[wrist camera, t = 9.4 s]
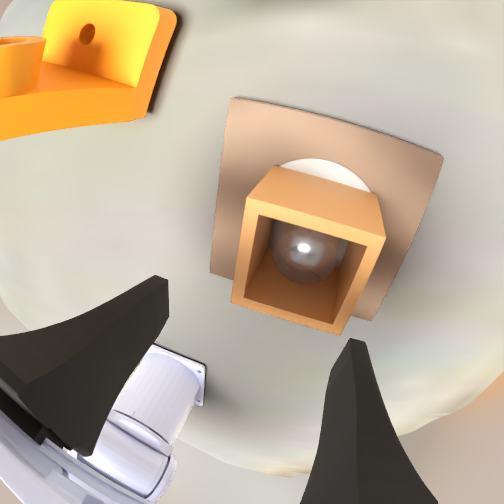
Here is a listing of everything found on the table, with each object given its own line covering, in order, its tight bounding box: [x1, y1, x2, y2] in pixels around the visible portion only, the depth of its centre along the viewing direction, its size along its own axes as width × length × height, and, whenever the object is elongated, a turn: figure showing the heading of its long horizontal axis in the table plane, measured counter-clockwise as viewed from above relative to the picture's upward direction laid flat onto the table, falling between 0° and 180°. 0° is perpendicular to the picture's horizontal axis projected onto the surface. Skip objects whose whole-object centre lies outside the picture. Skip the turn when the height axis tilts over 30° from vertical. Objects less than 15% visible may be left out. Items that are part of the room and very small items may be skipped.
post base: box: [210, 97, 444, 321], centre depth 18 cm, size 12×12×1 cm
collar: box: [231, 165, 386, 335], centre depth 15 cm, size 6×6×5 cm
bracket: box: [0, 0, 177, 141], centre depth 11 cm, size 11×7×12 cm, turn 67°
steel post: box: [273, 222, 338, 284], centre depth 16 cm, size 3×3×5 cm
